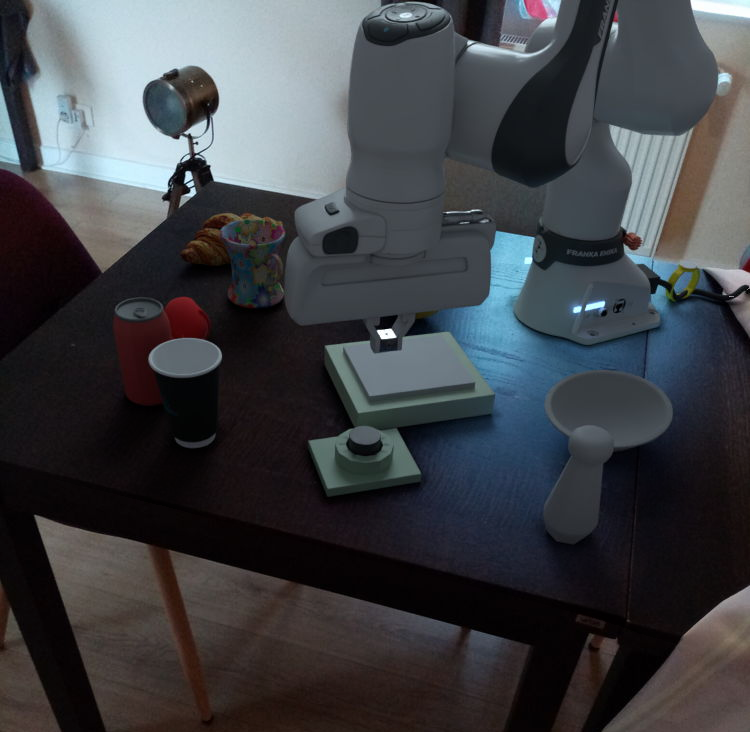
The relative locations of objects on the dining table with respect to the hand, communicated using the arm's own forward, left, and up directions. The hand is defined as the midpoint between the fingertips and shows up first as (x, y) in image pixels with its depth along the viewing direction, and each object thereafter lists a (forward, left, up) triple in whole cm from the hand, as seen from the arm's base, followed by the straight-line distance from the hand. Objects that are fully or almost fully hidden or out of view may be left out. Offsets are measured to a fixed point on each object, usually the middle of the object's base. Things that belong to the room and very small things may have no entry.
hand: (385, 349), depth 80 cm
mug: (+5, -42, -16) cm, 45 cm away
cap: (+17, -33, -16) cm, 41 cm away
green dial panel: (+1, -1, -16) cm, 16 cm away
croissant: (+6, -60, -16) cm, 62 cm away
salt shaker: (-17, +15, -16) cm, 28 cm away
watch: (-61, -30, -16) cm, 69 cm away
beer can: (+23, -21, -16) cm, 35 cm away
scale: (-9, -15, -16) cm, 23 cm away
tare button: (+1, -1, -13) cm, 13 cm away
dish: (-29, +1, -16) cm, 33 cm away
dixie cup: (+19, -11, -16) cm, 27 cm away
